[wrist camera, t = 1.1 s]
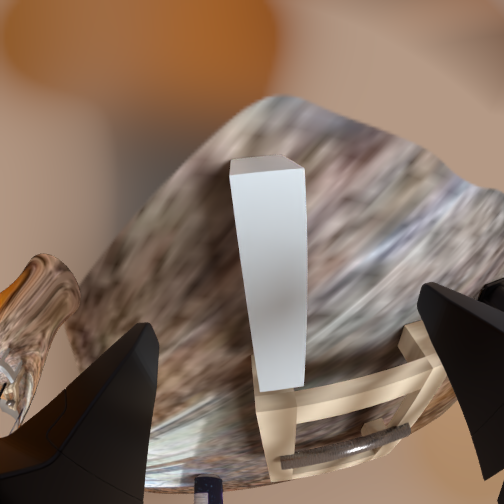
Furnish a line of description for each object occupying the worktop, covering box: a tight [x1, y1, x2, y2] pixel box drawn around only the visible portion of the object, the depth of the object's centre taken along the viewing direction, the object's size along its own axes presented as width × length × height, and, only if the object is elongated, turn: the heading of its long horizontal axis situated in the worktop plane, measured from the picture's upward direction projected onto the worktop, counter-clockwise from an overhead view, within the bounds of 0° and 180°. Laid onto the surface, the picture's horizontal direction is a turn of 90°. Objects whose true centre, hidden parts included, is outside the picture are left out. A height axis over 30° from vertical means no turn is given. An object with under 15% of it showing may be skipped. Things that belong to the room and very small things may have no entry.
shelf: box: [251, 320, 447, 482], centre depth 25 cm, size 18×24×6 cm
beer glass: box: [0, 254, 81, 438], centre depth 11 cm, size 7×7×15 cm
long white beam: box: [229, 154, 307, 392], centre depth 16 cm, size 3×14×6 cm, turn 6°
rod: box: [280, 423, 411, 470], centre depth 22 cm, size 15×2×2 cm, turn 96°
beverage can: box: [194, 474, 223, 504], centre depth 35 cm, size 6×6×12 cm
